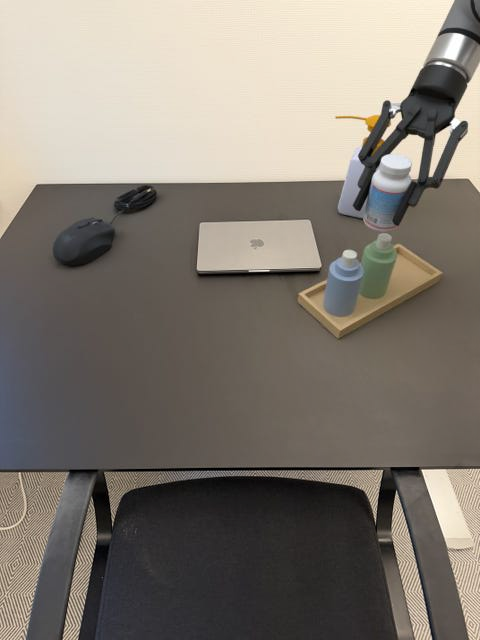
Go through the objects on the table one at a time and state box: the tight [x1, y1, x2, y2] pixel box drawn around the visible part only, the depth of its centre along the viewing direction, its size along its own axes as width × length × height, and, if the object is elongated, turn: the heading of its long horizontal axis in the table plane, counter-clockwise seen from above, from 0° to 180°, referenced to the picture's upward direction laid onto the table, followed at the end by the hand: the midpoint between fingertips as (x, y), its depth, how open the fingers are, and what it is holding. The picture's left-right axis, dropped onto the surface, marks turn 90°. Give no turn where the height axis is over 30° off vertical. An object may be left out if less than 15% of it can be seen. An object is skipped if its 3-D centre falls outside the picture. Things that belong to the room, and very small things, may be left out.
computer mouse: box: [52, 184, 158, 266], centre depth 106 cm, size 10×32×6 cm, turn 154°
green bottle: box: [359, 232, 397, 299], centre depth 88 cm, size 6×6×12 cm
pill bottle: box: [362, 153, 413, 233], centre depth 75 cm, size 6×6×11 cm
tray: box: [297, 243, 443, 340], centre depth 92 cm, size 28×12×2 cm, turn 124°
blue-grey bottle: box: [323, 249, 364, 317], centre depth 85 cm, size 6×6×12 cm
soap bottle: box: [334, 114, 392, 219], centre depth 106 cm, size 10×14×22 cm
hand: (375, 215), depth 75 cm, fingers closed on pill bottle, 6 cm apart
